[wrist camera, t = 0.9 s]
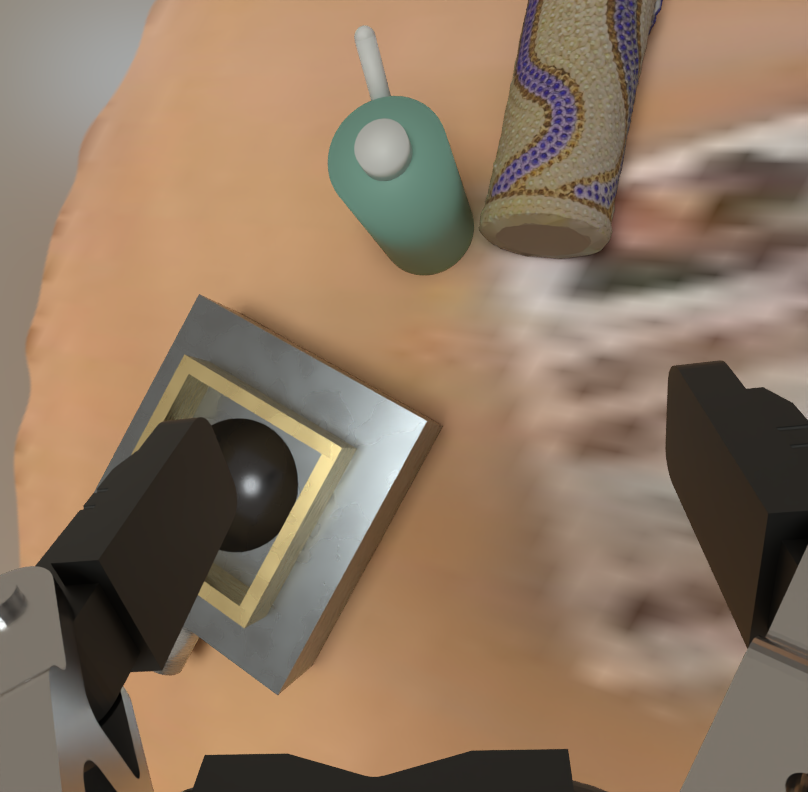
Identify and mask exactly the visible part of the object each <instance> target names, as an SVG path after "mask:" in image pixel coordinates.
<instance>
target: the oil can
mask: <svg viewBox="0 0 808 792" xmlns="http://www.w3.org/2000/svg"><path fill="white" fill-rule="evenodd" d="M354 37H355V43H356V47H357V50H358V54H359V58H360V61H361V65H362V68H363V72H364V76H365V79H366V83H367V87H368V90H369V94H370V98H371V101H370V102H368V103H365V104H363V105H362V106H360V107H359V108H357V109H356V110H355V111H353V112H352V113H351V114H350V115H349V116H348V117H347V118H346V119H345V120H344V121H343V122H342V124H341V125H340V126H339V128H338V130H337V131H336V133H335V135H334V137H333V139H332V142H331V145H330V149H329V154H328V172H329V177H330V180H331V183H332V185H333V187H334V189H335V191H336V193H337V194H338V195H339V197H340V198H341V199H342V200H343V202H344V203H345V204H346V205H347V207H348V208H349V209H350V210H351V211H352V213H353V214H354V215H355V216H356V218H357V219H358V220H359V221H360V223H361V224H362V225H363V226H364V227H365V229H366V230H367V231H368V232H369V234H370V235H371V236H372V237H373V239H374V240H375V241H376V242H377V243H378V245H379V246H380V247H381V248H382V250H383V251H384V252H385V253H386V254H387V256H388V257H389V258H390V259H391V261H392V262H393V263H394V264H395V265H397V266H398V267H399V268H401V269H402V270H404V271H406V272H409V273H412V274H416V275H432V274H436V273H440V272H442V271H445V270H447V269H448V268H450V267H452V266H453V265H454V264H456V263H457V262H458V261H459V260H460V259H461V258H462V257H463V255H464V254H465V253H466V251H467V249H468V247H469V245H470V243H471V240H472V237H473V231H474V221H473V215H472V212H471V209H470V206H469V203H468V200H467V197H466V194H465V191H464V188H463V185H462V182H461V178H460V175H459V172H458V169H457V166H456V163H455V160H454V157H453V154H452V151H451V148H450V145H449V142H448V139H447V136H446V133H445V130H444V128H443V125H442V123H441V122H440V120H439V118H438V117H437V116H436V114H435V113H434V112H433V111H432V110H431V109H430V108H429V107H427V106H426V105H424V104H423V103H421V102H419V101H417V100H414V99H411V98H407V97H402V96H391V95H390V91H389V87H388V83H387V79H386V75H385V71H384V67H383V63H382V60H381V56H380V52H379V48H378V44H377V40H376V36H375V33H374V31H373V29H372V28H370V27H369V26H361V27H359V28H358V29H357V30H356V32H355V36H354Z"/></svg>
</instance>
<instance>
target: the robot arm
mask: <svg viewBox="0 0 808 792" xmlns="http://www.w3.org/2000/svg"><path fill="white" fill-rule="evenodd" d="M666 459H667V466H668V471H669V475H670V478H671V481H672V484H673V486H674V488H675V490H676V493H677V495H678V497H679V499H680V501H681V504H682V506H683V508H684V510H685V512H686V515H687V517H688V519H689V521H690V523H691V526H692V528H693V530H694V532H695V534H696V537H697V539H698V541H699V543H700V545H701V548H702V550H703V552H704V554H705V556H706V559H707V561H708V563H709V565H710V567H711V570H712V572H713V574H714V576H715V578H716V581H717V583H718V585H719V587H720V589H721V592H722V594H723V596H724V598H725V600H726V603H727V605H728V607H729V609H730V611H731V614H732V616H733V618H734V620H735V622H736V625H737V627H738V629H739V631H740V633H741V636H742V638H743V640H744V642H745V644H746V647H747V651H746V653H745V655H744V657H743V659H742V662H741V664H740V666H739V668H738V670H737V672H736V674H735V676H734V678H733V681H732V683H731V685H730V687H729V689H728V691H727V693H726V695H725V697H724V700H723V702H722V704H721V706H720V708H719V710H718V712H717V714H716V716H715V718H714V721H713V723H712V725H711V727H710V729H709V731H708V733H707V735H706V737H705V740H704V742H703V744H702V746H701V748H700V750H699V752H698V754H697V756H696V759H695V761H694V763H693V765H692V767H691V769H690V771H689V773H688V775H687V777H686V780H685V782H684V784H683V786H682V788H681V790H680V792H808V420H807V419H806V418H805V417H804V415H803V414H802V413H801V412H800V411H799V410H798V408H797V407H796V406H795V405H794V404H793V403H791V402H790V401H788V400H786V399H784V398H782V397H780V396H778V395H777V394H775V393H773V392H771V391H769V390H767V389H765V388H764V387H761V388H751V389H746V388H745V387H744V386H743V384H742V383H741V382H740V380H739V379H738V378H737V377H736V375H735V374H734V373H733V371H732V370H731V369H730V368H729V366H728V365H727V364H726V363H725V362H724V361H712V362H703V363H694V364H685V365H676V366H672V367H671V369H670V372H669V377H668V395H667V421H666ZM236 508H237V493H236V487H235V484H234V481H233V478H232V476H231V473H230V471H229V468H228V466H227V463H226V461H225V458H224V456H223V453H222V451H221V448H220V445H219V443H218V440H217V438H216V435H215V433H214V430H213V428H212V426H211V424H210V423H209V421H208V420H206V419H205V418H203V417H197V418H188V419H179V420H170V421H163V422H161V423H159V424H158V425H157V426H156V428H155V429H154V430H153V432H152V433H151V434H150V435H149V437H148V438H147V439H146V441H145V442H144V443H143V444H142V446H141V447H140V448H139V450H138V451H136V452H135V453H133V454H132V455H131V456H129V457H128V458H127V459H125V460H124V461H123V462H121V463H120V464H119V465H117V466H116V467H115V468H113V469H112V471H111V472H110V473H109V474H108V476H107V477H106V478H105V479H104V481H103V482H102V483H101V484H100V486H99V487H98V488H97V493H93V494H92V496H91V497H90V498H89V499H88V501H87V502H86V503H85V504H84V510H80V511H79V512H78V513H77V514H76V516H75V517H74V518H73V519H72V521H71V522H70V523H69V524H68V526H67V527H66V528H65V530H64V531H63V532H62V533H61V535H60V536H59V537H58V538H57V540H56V541H55V542H54V543H53V545H52V546H51V547H50V548H49V550H48V551H47V552H46V553H45V555H44V556H43V557H42V558H41V560H40V561H39V562H38V563H37V565H36V566H31V567H23V568H19V569H15V570H12V571H9V572H6V573H4V574H1V575H0V792H154V789H153V785H152V782H151V778H150V774H149V770H148V766H147V762H146V758H145V754H144V750H143V746H142V742H141V738H140V734H139V730H138V726H137V722H136V718H135V714H134V710H133V706H132V703H131V699H130V697H129V694H128V693H127V691H126V690H125V688H124V687H123V685H124V683H125V681H126V679H127V678H128V676H129V674H130V672H143V671H162V670H163V668H164V666H165V664H166V662H167V660H168V657H169V655H170V653H171V651H172V649H173V647H174V645H175V643H176V640H177V638H178V636H179V634H180V632H181V630H182V628H183V626H184V623H185V621H186V619H187V617H188V615H189V613H190V611H191V609H192V606H193V604H194V602H195V600H196V598H197V596H198V594H199V592H200V589H201V587H202V585H203V583H204V581H205V579H206V577H207V575H208V572H209V570H210V568H211V566H212V564H213V562H214V560H215V558H216V555H217V553H218V551H219V549H220V547H221V545H222V543H223V541H224V538H225V536H226V534H227V532H228V530H229V528H230V526H231V524H232V521H233V519H234V517H235V513H236ZM182 792H607V791H604V790H602V789H599V788H597V787H594V786H591V785H588V784H584V783H580V782H577V781H573V780H572V774H571V767H570V760H569V753H568V749H547V750H485V751H469V752H466V753H462V754H459V755H455V756H452V757H448V758H445V759H441V760H438V761H434V762H431V763H427V764H424V765H420V766H417V767H413V768H410V769H406V770H403V771H399V772H396V773H392V774H389V775H385V776H380V777H369V776H364V775H360V774H357V773H353V772H350V771H346V770H343V769H339V768H336V767H332V766H329V765H325V764H322V763H318V762H315V761H311V760H308V759H304V758H301V757H297V756H294V755H290V754H239V755H205V756H204V759H203V762H202V764H201V767H200V770H199V773H198V776H197V778H196V781H195V784H194V787H193V788H190V789H187V790H184V791H182Z"/></svg>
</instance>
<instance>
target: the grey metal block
mask: <svg viewBox="0 0 808 792" xmlns="http://www.w3.org/2000/svg"><path fill="white" fill-rule="evenodd" d="M197 417H203V418H205V419H206V420H208V421H209V423H210V424H211V426H212V428H213V430H214V433H215V435H216V438H217V440H218V443H219V445H220V448H221V451H222V453H223V456H224V458H225V461H226V463H227V466H228V468H229V471H230V473H231V476H232V478H233V481H234V484H235V487H236V493H237V508H236V513H235V517H234V519H233V521H232V524H231V526H230V528H229V530H228V532H227V534H226V536H225V538H224V541H223V543H222V545H221V547H220V549H219V551H218V553H217V555H216V558H215V560H214V562H213V564H212V566H211V568H210V570H209V572H208V575H207V577H206V579H205V581H204V583H203V585H202V587H201V589H200V592H199V594H198V596H197V598H196V600H195V602H194V604H193V606H192V609H191V611H190V613H189V615H188V617H187V619H186V621H185V623H184V626H183V628H182V630H181V632H180V634H179V636H178V638H177V640H176V643H175V645H174V647H173V649H172V651H171V653H170V655H169V657H168V660H167V662H166V664H165V666H164V668H163V670H162V671H154V672H156V673H158V674H162V675H176V674H178V673H180V672H181V671H182V669H183V667H184V665H185V663H186V662H187V660H188V658H189V656H190V654H191V652H192V650H193V649H194V647H195V645H196V643H197V641H198V639H199V637H200V638H201V639H202V640H204V641H205V642H206V643H208V644H209V645H210V646H212V647H213V648H215V649H216V650H217V651H219V652H220V653H221V654H223V655H224V656H225V657H227V658H228V659H229V660H231V661H232V662H233V663H235V664H236V665H238V666H239V667H240V668H242V669H243V670H244V671H246V672H247V673H248V674H250V675H251V676H252V677H254V678H255V679H256V680H258V681H259V682H261V683H262V684H263V685H265V686H266V687H267V688H269V689H270V690H271V691H273V692H274V693H275V694H277V695H279V694H280V693H281V692H282V691H283V690H284V689H286V688H287V687H288V686H289V685H290V684H291V683H293V682H294V681H295V680H296V679H297V678H298V677H300V676H301V675H302V674H303V673H304V672H305V671H307V670H308V669H309V668H310V667H311V666H312V665H313V663H314V662H315V660H316V658H317V656H318V654H319V652H320V650H321V649H322V647H323V645H324V643H325V641H326V639H327V638H328V636H329V634H330V632H331V630H332V628H333V627H334V625H335V623H336V621H337V619H338V617H339V616H340V614H341V612H342V610H343V608H344V606H345V605H346V603H347V601H348V599H349V597H350V595H351V594H352V592H353V590H354V588H355V586H356V584H357V583H358V581H359V579H360V577H361V575H362V573H363V572H364V570H365V568H366V566H367V564H368V562H369V561H370V559H371V557H372V555H373V553H374V551H375V550H376V548H377V546H378V544H379V542H380V540H381V539H382V537H383V535H384V533H385V531H386V529H387V528H388V526H389V524H390V522H391V520H392V518H393V517H394V515H395V513H396V511H397V509H398V507H399V506H400V504H401V502H402V500H403V498H404V496H405V495H406V493H407V491H408V489H409V487H410V485H411V484H412V482H413V480H414V478H415V476H416V474H417V473H418V471H419V469H420V467H421V465H422V463H423V461H424V460H425V458H426V456H427V454H428V452H429V450H430V449H431V447H432V445H433V443H434V441H435V439H436V438H437V436H438V434H439V432H440V430H441V428H442V427H443V426H442V425H441V424H439V423H437V422H435V421H433V420H432V419H430V418H428V417H426V416H424V415H423V414H421V413H419V412H417V411H415V410H414V409H412V408H410V407H408V406H406V405H405V404H403V403H401V402H399V401H397V400H395V399H394V398H392V397H390V396H388V395H386V394H385V393H383V392H381V391H379V390H377V389H376V388H374V387H372V386H370V385H368V384H367V383H365V382H363V381H361V380H359V379H358V378H356V377H354V376H352V375H350V374H349V373H347V372H345V371H343V370H341V369H340V368H338V367H336V366H334V365H332V364H331V363H329V362H327V361H325V360H323V359H322V358H320V357H318V356H316V355H314V354H313V353H311V352H309V351H307V350H305V349H304V348H302V347H300V346H298V345H296V344H295V343H293V342H291V341H289V340H287V339H286V338H284V337H282V336H280V335H278V334H277V333H275V332H273V331H271V330H269V329H268V328H266V327H264V326H262V325H260V324H259V323H257V322H255V321H253V320H251V319H250V318H248V317H246V316H244V315H242V314H241V313H238V312H236V311H234V310H232V309H230V308H228V307H226V306H223V305H221V304H219V303H217V302H215V301H213V300H211V299H208V298H206V297H204V296H202V295H200V294H199V296H198V297H197V299H196V301H195V303H194V305H193V307H192V309H191V311H190V313H189V314H188V316H187V318H186V320H185V322H184V324H183V326H182V328H181V329H180V331H179V333H178V335H177V337H176V339H175V341H174V343H173V345H172V346H171V348H170V350H169V352H168V354H167V356H166V358H165V360H164V362H163V363H162V365H161V367H160V369H159V371H158V373H157V375H156V377H155V379H154V380H153V382H152V384H151V386H150V388H149V390H148V392H147V394H146V395H145V397H144V399H143V401H142V403H141V405H140V407H139V409H138V411H137V412H136V414H135V416H134V418H133V420H132V422H131V424H130V426H129V428H128V429H127V431H126V433H125V435H124V437H123V439H122V441H121V443H120V445H119V446H118V448H117V450H116V452H115V454H114V456H113V458H112V460H111V461H110V463H109V465H108V467H107V469H106V471H105V473H104V475H103V477H102V478H101V480H100V482H99V484H98V486H97V488H98V487H99V486H100V484H101V483H102V482H103V481H104V479H105V478H106V477H107V476H108V474H109V473H110V472H111V471H112V469H113V468H115V467H116V466H117V465H119V464H120V463H121V462H123V461H124V460H125V459H127V458H128V457H129V456H131V455H132V454H133V453H135V452H136V451H138V450H139V448H140V447H141V446H142V444H143V443H144V442H145V441H146V439H147V438H148V437H149V435H150V434H151V433H152V432H153V430H154V429H155V428H156V426H157V425H158V424H159V423H161V422H163V421H170V420H179V419H188V418H197ZM97 488H96V490H95V492H94V493H97Z"/></svg>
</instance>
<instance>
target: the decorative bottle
mask: <svg viewBox="0 0 808 792" xmlns="http://www.w3.org/2000/svg"><path fill="white" fill-rule="evenodd" d="M655 1H656V2H655ZM662 1H663V0H528V4H527V9H526V15H525V18H524V23H523V27H522V32H521V36H520V41H519V47H518V54H517V58H516V61H515V66H514V73H513V80H512V82H511V85H510V91H509V97H508V102H507V106H506V110H505V115H504V121H503V127H502V133H501V138H500V141H499V146H498V151H497V156H496V160H495V162H494V163H493V173H492V177H491V181H490V185H489V190H488V195H487V197H486V203H485V207H484V209H483V211H482V213H481V216H480V226H479V231H480V232H481V233H482V235H483V236H484V237H485V238H486V239H487V240H489V241H490V242H491V243H492V244H494V245H497V246H498V247H499V248H501V249H506V250H508V251H511V252H514V253H518V254H521V255H525V256H536V257H546V258H560V259H562V258H570V257H578V256H585V255H590V254H594V253H597V252H599V251H601V250H602V249H603V247H604V246H605V245H606V244H607V243H608V242H609V240H610V237H611V234H612V227H611V223H612V218H613V213H614V211H615V209H614V198H615V196H616V193H617V187H618V181H619V177H620V174H621V171H622V164H623V158H624V152H625V146H626V139H627V134H628V131H629V127H630V123H631V115H632V111H633V105H634V101H635V94H636V88H637V85H638V79H639V76H640V73H641V68H642V61H643V57H644V54H645V50H646V46H647V40H648V35H649V33H650V31H651V29H652V27H653V26H654V24H655V22H656V15H657V14H658V13H659V11H660V10H661V6H662ZM654 9H655V10H654Z"/></svg>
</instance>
